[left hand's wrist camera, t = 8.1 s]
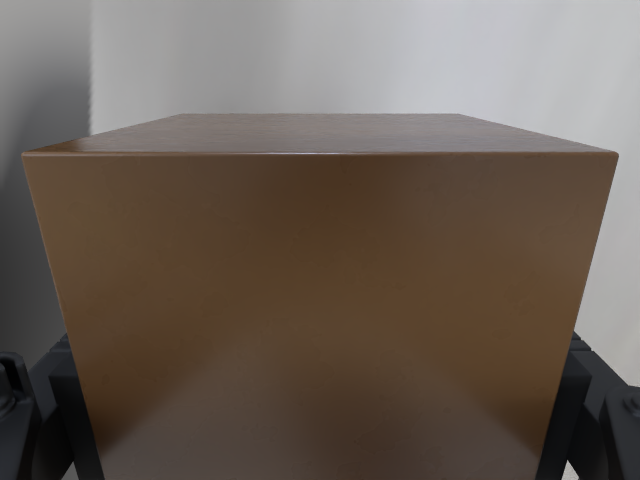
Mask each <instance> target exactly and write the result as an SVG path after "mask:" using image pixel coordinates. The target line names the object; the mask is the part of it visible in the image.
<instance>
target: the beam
mask: <svg viewBox="0 0 640 480" xmlns="http://www.w3.org/2000/svg"><path fill="white" fill-rule="evenodd" d="M21 158H22V162H23V166H24V170H25V174H26V177H27V181H28V185H29V189H30V193H31V197H32V200H33V204H34V208H35V212H36V216H37V220H38V224H39V227H40V231H41V235H42V239H43V243H44V247H45V251H46V254H47V258H48V262H49V266H50V270H51V274H52V277H53V281H54V285H55V289H56V293H57V297H58V301H59V304H60V308H61V312H62V316H63V320H64V324H65V328H66V331H67V335H68V339H69V343H70V347H71V351H72V354H73V358H74V362H75V366H76V370H77V374H78V378H79V381H80V385H81V389H82V393H83V397H84V401H85V404H86V408H87V412H88V416H89V420H90V424H91V428H92V431H93V435H94V439H95V443H96V447H97V451H98V454H99V458H100V462H101V466H102V470H103V474H104V478H105V480H535V477H536V474H537V470H538V466H539V462H540V458H541V454H542V450H543V447H544V443H545V439H546V435H547V431H548V427H549V423H550V420H551V416H552V412H553V408H554V404H555V400H556V396H557V393H558V389H559V385H560V381H561V377H562V373H563V370H564V366H565V362H566V358H567V354H568V350H569V346H570V343H571V339H572V335H573V331H574V327H575V323H576V319H577V316H578V312H579V308H580V304H581V300H582V296H583V292H584V289H585V285H586V281H587V277H588V273H589V269H590V265H591V262H592V258H593V254H594V250H595V246H596V242H597V239H598V235H599V231H600V227H601V223H602V219H603V215H604V212H605V208H606V204H607V200H608V196H609V192H610V188H611V185H612V181H613V177H614V173H615V169H616V165H617V161H618V158H619V154H618V153H617V152H614V151H610V150H606V149H602V148H598V147H594V146H589V145H585V144H581V143H577V142H573V141H569V140H565V139H560V138H556V137H552V136H548V135H544V134H540V133H536V132H531V131H527V130H523V129H519V128H515V127H511V126H507V125H502V124H498V123H494V122H490V121H486V120H482V119H478V118H473V117H469V116H465V115H461V114H179V115H175V116H171V117H167V118H163V119H159V120H154V121H150V122H146V123H142V124H138V125H134V126H129V127H125V128H121V129H117V130H113V131H109V132H104V133H100V134H96V135H92V136H88V137H84V138H80V139H75V140H71V141H67V142H63V143H59V144H55V145H50V146H46V147H42V148H38V149H34V150H30V151H25V152H23V153H22V154H21Z"/></svg>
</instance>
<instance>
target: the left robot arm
mask: <svg viewBox="0 0 640 480" xmlns="http://www.w3.org/2000/svg"><path fill="white" fill-rule="evenodd" d="M567 459H568V461H569V462H570V464H571V466H572V467H573V469H574V470H575V472H576V473H577V475H578V476H579V479H578V480H640V387H635V386H628V385H627V384H626V383H625V382H624V381H623V380H622V379H621V378H620V377H619V376H618V375H617V374H616V373H615V372H614V371H613V370H612V369H611V368H610V367H609V366H608V365H607V364H606V363H605V362H604V361H603V360H602V359H601V358H600V357H599V356H598V355H597V354H596V353H595V352H594V351H591V348H590V347H589V346H588V345H587V344H586V343H585V342H584V341H583V340H581V338H580V337H579V336H578V335H577V334H576V333H575V332H574V331H573V335H572V339H571V343H570V346H569V350H568V354H567V358H566V362H565V366H564V370H563V373H562V377H561V381H560V385H559V389H558V393H557V396H556V400H555V404H554V408H553V412H552V416H551V420H550V423H549V427H548V431H547V435H546V439H545V443H544V447H543V450H542V454H541V458H540V462H539V466H538V470H537V474H536V477H535V480H562V476H563V473H564V470H565V466H566V463H567ZM72 462H74V465H75V468H76V472H77V475H78V478H79V480H105V478H104V474H103V470H102V466H101V462H100V458H99V454H98V451H97V447H96V443H95V439H94V435H93V431H92V428H91V424H90V420H89V416H88V412H87V408H86V404H85V401H84V397H83V393H82V389H81V385H80V381H79V378H78V374H77V370H76V366H75V362H74V358H73V354H72V351H71V347H70V343H69V339H68V335H67V333H66V334H65V335H64V336H63V337H62V338H61V339H60V342H57V343H56V344H55V345H54V346H53V347H52V348H51V349H50V352H49V353H46V354H45V355H44V356H43V357H42V358H41V359H40V360H39V361H38V362H37V363H36V364H35V365H34V366H33V367H32V368H31V369H30V370H29V371H28V372H27V369H26V366H25V363H24V360H23V357H22V356H20V355H19V354H17V353H14V352H0V480H62V478H63V476H64V474H65V473H66V471H67V470H68V468H69V467H70V465H71V464H72Z"/></svg>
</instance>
